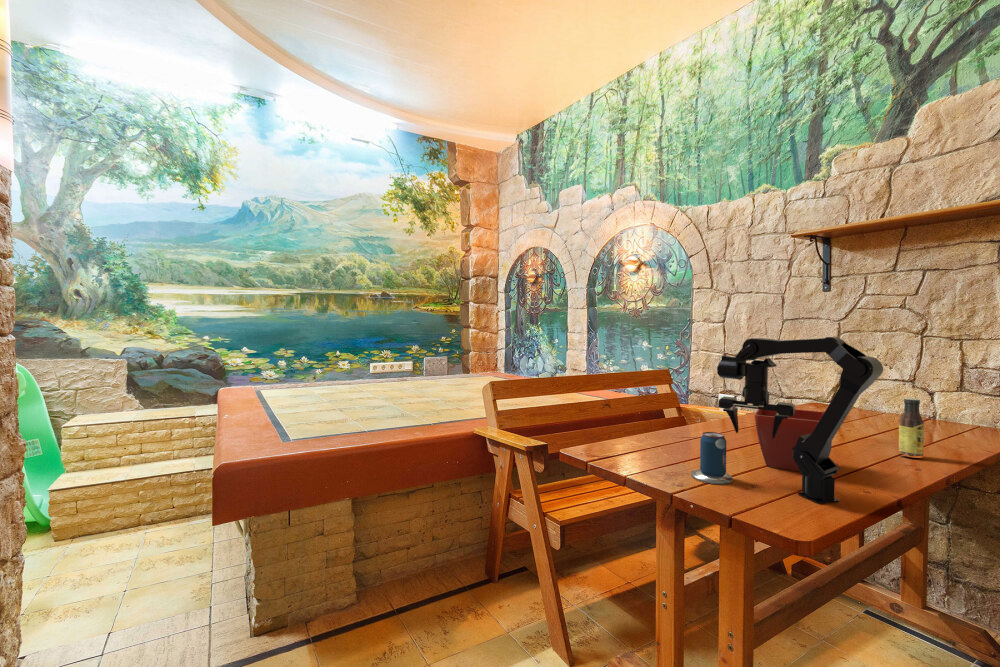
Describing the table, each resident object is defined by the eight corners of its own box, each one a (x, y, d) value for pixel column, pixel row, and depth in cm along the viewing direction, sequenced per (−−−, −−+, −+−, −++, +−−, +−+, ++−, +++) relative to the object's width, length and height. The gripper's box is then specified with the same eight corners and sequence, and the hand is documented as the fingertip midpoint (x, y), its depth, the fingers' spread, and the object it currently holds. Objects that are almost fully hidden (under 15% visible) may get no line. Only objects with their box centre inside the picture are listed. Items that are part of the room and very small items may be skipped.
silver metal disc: (741, 483, 126) (741, 480, 126) (707, 485, 124) (707, 482, 124) (715, 470, 137) (715, 467, 137) (683, 473, 135) (683, 470, 135)
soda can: (730, 479, 127) (730, 437, 127) (704, 478, 128) (705, 436, 128) (720, 471, 134) (720, 431, 134) (696, 470, 135) (696, 431, 134)
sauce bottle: (922, 461, 148) (923, 401, 147) (897, 456, 153) (898, 399, 152) (924, 457, 152) (925, 399, 152) (900, 453, 157) (901, 396, 156)
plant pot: (759, 453, 156) (760, 405, 156) (826, 463, 145) (827, 411, 145) (753, 467, 141) (753, 414, 140) (828, 479, 130) (829, 422, 129)
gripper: (797, 381, 129) (796, 435, 129) (726, 376, 140) (725, 425, 141) (793, 385, 120) (792, 443, 120) (718, 379, 132) (717, 432, 132)
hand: (754, 435), depth 129 cm, fingers open, 9 cm apart
